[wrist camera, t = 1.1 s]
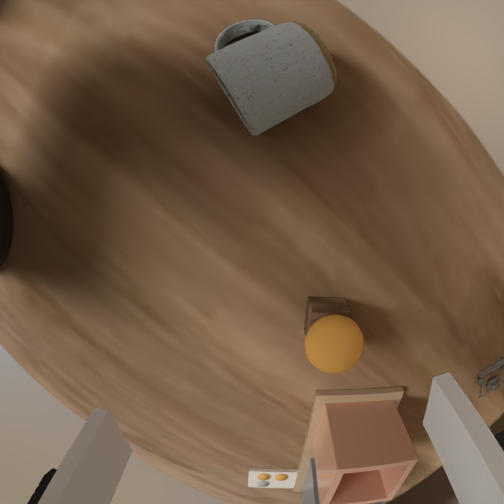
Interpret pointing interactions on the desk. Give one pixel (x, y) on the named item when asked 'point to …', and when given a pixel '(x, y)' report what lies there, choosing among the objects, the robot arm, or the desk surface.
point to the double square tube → (354, 448)
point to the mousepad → (494, 382)
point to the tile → (272, 478)
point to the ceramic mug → (272, 71)
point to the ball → (334, 343)
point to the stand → (325, 309)
